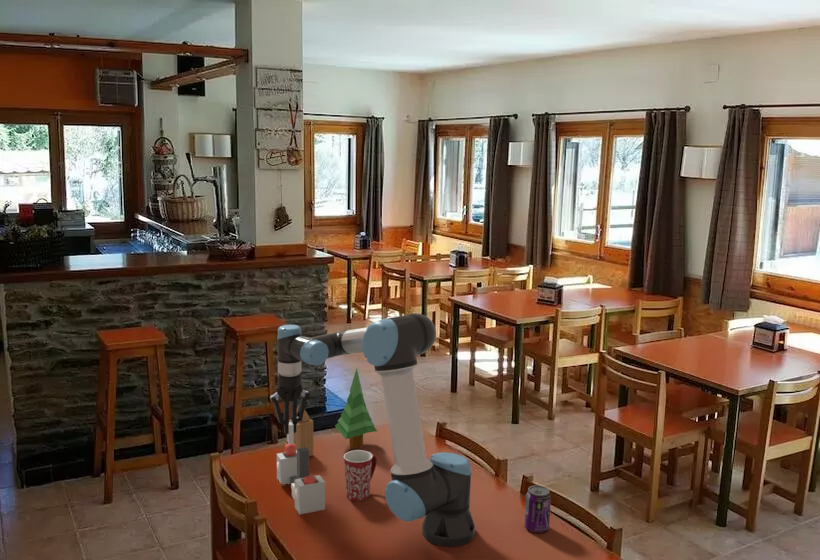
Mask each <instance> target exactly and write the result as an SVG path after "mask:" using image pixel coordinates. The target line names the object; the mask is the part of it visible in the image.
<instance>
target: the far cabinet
mask: <svg viewBox="0 0 820 560" xmlns="http://www.w3.org/2000/svg"><path fill="white" fill-rule="evenodd" d="M292 476H296V477H297V450H296V455H295V456H286V455H285V451H284V452H279V453H276V480H277V479H278V480H279V482H280V483H281V484H288V485H290V477H292ZM278 480H277V481H278ZM279 482H278V483H279ZM280 483H279V484H280Z"/></svg>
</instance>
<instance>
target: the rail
mask: <svg viewBox="0 0 820 560" xmlns="http://www.w3.org/2000/svg"><path fill="white" fill-rule="evenodd" d="M295 479H297V477H296V476H292V477H290V484H292V483H295ZM290 484H289V485H290Z"/></svg>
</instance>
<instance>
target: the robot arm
mask: <svg viewBox="0 0 820 560" xmlns="http://www.w3.org/2000/svg"><path fill="white" fill-rule="evenodd" d="M302 333H303V332H302V328H301V327H300V326H299V325H297V324H284V325H281V326H279V327H278V328H277V337H276V338H277V339H276V340H277V343H276V345H277V373H278V374H277V388H276V392H275V393H273V394H270V395H269V399H271V401H272V403H273V407H274V411H275V414H276V418H277V421H278V423H279V424H280V425H283V432H284V434H285V435H286V442H287V444H294V433H296V425H297V422H299V421H302V418H303V414H304V409H305V410H306V405H307V400H308V399H309V397H310V392H309V391H308V390H305V389H304V387H303V386H302V381H303V380H302V378H303V377H302V374H303V373H301V372H302V362H303V363H305V364H307V365H313V366H321V365H323V364H324V362H326V361H327V359H331V358H335V357H340V356H344V355H352V354H361V353H362V354H363V356H364V358H365V359H366V361H367V362H368V363H369V364H370V365H372V366H374V371H375V372H376V373H377V374H378V375H379V376H380V378H381V381H382V388H383V393H384V400H385V402H384V403H385V408H386V414H387V421H388V427H389V433H390V439H391V446H392V452H393V460H394V465H392V467H391V469H390V476H391V478H390V479H391V480H390V481H389V482H388V483H387V484H386V485H385V486H386V487H385V488H384V496H385V497H384V498H385V501H386V504H387V506H388V508H389V509H390V511H391V512H392V513H393V514H394V516H396V517H397V518H398V519H400V520H402V521H403V522H413V521H417V520H419V519H423V518H424V519H423V521H422V525H421V533H422V537H424V538H425V539H426V540H427V541H428V542H430V543H431V544H435V545H438V546H443V547H458V546H459V547H460V546H464V545H466V544H469V542H471V541H472V540H473V539H474V537H475V535H476V534H475V533H476V530H475V529H476V525H475V522H474V519H473V516H472V512H471V509H470V508H471V507H470V504H471V503H470V502H471V482H472V481H471V479H472V465H471V462H470V461H469V459H467V457H465V456H463V455H460V454H457V453H453V452H452V453H451V452H437V453H433V454H431V455H430V459H428V458H427V455H426V449H425V441H424V436H423V429H422V423H421V422H422V421H421V417H420V410H419V403H418V395H417V389H416V383H415V378H414V377H415V376H414V370H415V369H416V368H417V366H418V359H417V356H420V355H423V354H424V353H426V352H427V351H429V350H430V349H431V348H433V345H434V344H435V342H436V338H437V329H436V326H435V323H434V322H433V321H432V320H431V319H430V318H429V317H428V316H427V315H424V314H421V313H408V314H405V315H404V314H403V315H399V316H392V317H389V318H383V319H380V320H377V321H374V322H372V323H370V324H369V325H368V326H366V327H362V328H360V327H359V328H354V329H344V330H340V331H337V332H332V333H327V334H322V335H317V336H312V337H307V336H304V335H303V334H302ZM300 396H301V397H300ZM279 397H280V398H281V400H282V406H283V408H282V411H283V413H282V411H281V406H280V403H279ZM299 398H300V400H299V403H300V404H298V399H299ZM297 404H298V405H299V408H298V412H297V407H298V405H297ZM282 414H283V415H282ZM290 419H291V421H292V422H289V420H290Z"/></svg>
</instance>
